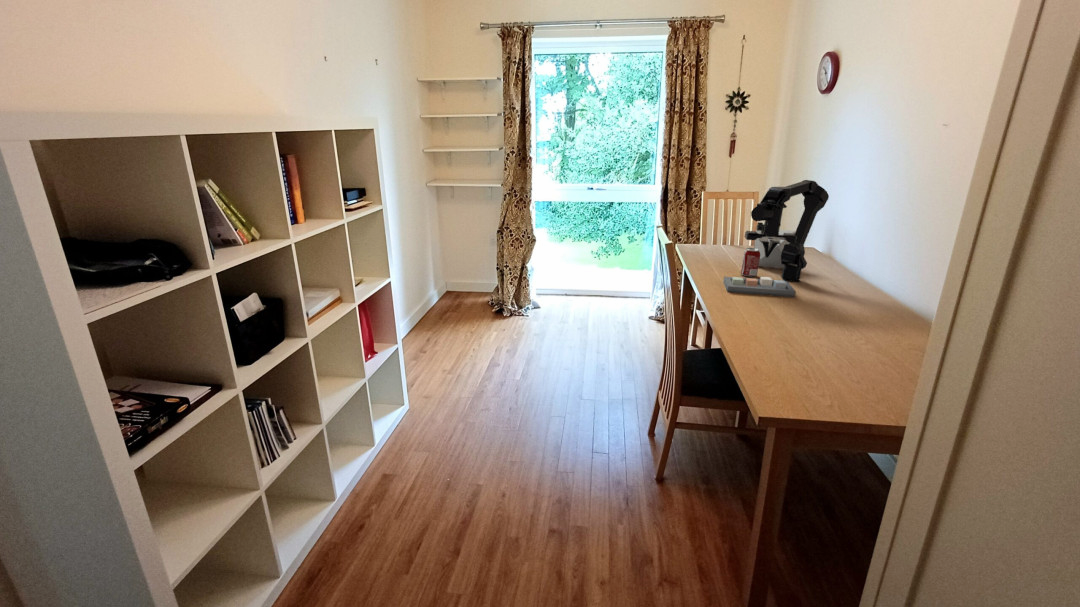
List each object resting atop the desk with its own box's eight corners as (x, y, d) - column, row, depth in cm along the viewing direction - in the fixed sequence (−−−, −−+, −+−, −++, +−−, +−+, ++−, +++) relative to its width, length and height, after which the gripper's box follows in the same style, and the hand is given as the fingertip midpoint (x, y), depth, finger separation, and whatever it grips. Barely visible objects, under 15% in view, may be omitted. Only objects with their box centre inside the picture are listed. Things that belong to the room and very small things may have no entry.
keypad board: (786, 287, 211) (787, 281, 211) (794, 297, 199) (795, 291, 198) (723, 282, 216) (724, 276, 215) (727, 292, 203) (728, 286, 202)
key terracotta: (755, 284, 209) (756, 278, 208) (756, 287, 205) (757, 281, 204) (745, 284, 210) (746, 277, 209) (746, 286, 206) (747, 280, 205)
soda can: (759, 277, 224) (763, 251, 220) (743, 277, 224) (747, 250, 220) (753, 273, 230) (757, 247, 226) (738, 273, 230) (742, 247, 226)
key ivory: (769, 283, 207) (770, 277, 207) (771, 286, 204) (772, 280, 203) (759, 282, 208) (760, 276, 207) (761, 285, 205) (762, 279, 204)
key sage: (741, 283, 210) (742, 277, 209) (742, 286, 206) (743, 280, 205) (731, 282, 211) (732, 276, 210) (732, 285, 207) (733, 279, 206)
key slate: (783, 286, 207) (784, 280, 206) (785, 289, 203) (786, 283, 202) (773, 286, 207) (774, 280, 207) (775, 288, 204) (776, 282, 203)
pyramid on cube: (755, 263, 230) (760, 223, 229) (749, 267, 253) (753, 231, 252) (795, 267, 225) (801, 226, 225) (785, 270, 248) (790, 234, 248)
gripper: (793, 217, 210) (786, 254, 215) (745, 214, 213) (739, 251, 218) (800, 222, 199) (792, 260, 205) (750, 219, 203) (744, 257, 208)
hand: (766, 257), depth 209 cm, fingers closed
